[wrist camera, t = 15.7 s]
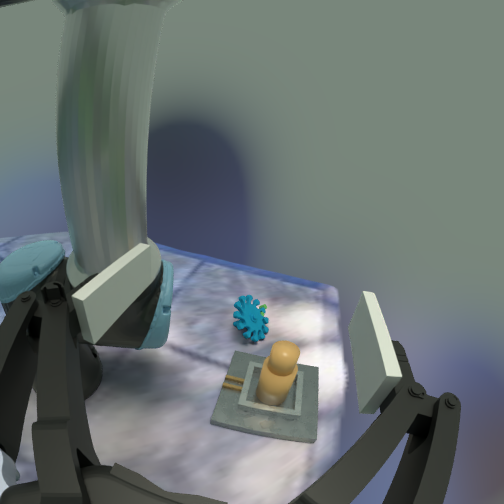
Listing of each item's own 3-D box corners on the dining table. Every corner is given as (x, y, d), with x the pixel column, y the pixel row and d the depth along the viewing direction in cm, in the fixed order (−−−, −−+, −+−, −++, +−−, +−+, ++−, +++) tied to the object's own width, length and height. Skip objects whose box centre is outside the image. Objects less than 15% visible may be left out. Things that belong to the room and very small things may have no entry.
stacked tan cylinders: (253, 401, 38) (265, 359, 34) (258, 378, 43) (270, 334, 39) (285, 407, 38) (303, 366, 33) (288, 384, 42) (304, 341, 38)
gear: (254, 348, 50) (230, 301, 51) (232, 354, 53) (210, 310, 54) (279, 326, 59) (259, 286, 60) (258, 333, 62) (240, 295, 63)
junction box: (210, 423, 35) (211, 414, 33) (234, 355, 49) (235, 344, 48) (313, 443, 33) (319, 435, 32) (316, 372, 47) (320, 361, 46)
